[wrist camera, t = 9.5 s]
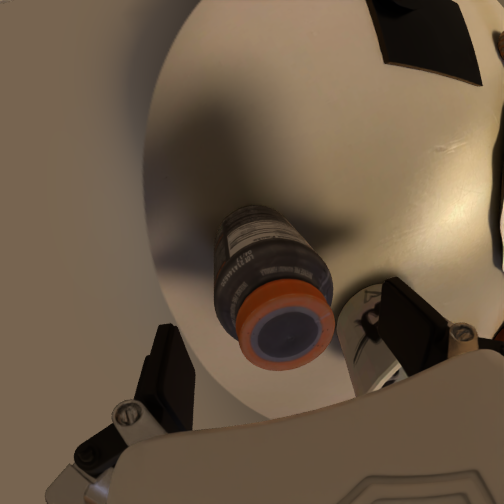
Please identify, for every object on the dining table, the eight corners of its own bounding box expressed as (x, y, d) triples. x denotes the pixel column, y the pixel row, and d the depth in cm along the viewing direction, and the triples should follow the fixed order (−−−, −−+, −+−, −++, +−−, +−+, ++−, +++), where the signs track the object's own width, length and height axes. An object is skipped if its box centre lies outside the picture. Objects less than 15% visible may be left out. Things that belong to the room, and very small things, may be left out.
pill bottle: (264, 289, 22) (299, 399, 12) (200, 255, 21) (186, 362, 10) (307, 229, 21) (383, 310, 10) (242, 188, 19) (270, 241, 9)
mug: (400, 248, 22) (473, 303, 13) (418, 342, 28) (460, 395, 19) (305, 306, 23) (347, 392, 14) (348, 386, 29) (378, 449, 20)
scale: (347, -35, 12) (358, -47, 9) (452, 2, 12) (465, -3, 10) (379, 63, 16) (396, 56, 14) (477, 86, 17) (493, 86, 14)
